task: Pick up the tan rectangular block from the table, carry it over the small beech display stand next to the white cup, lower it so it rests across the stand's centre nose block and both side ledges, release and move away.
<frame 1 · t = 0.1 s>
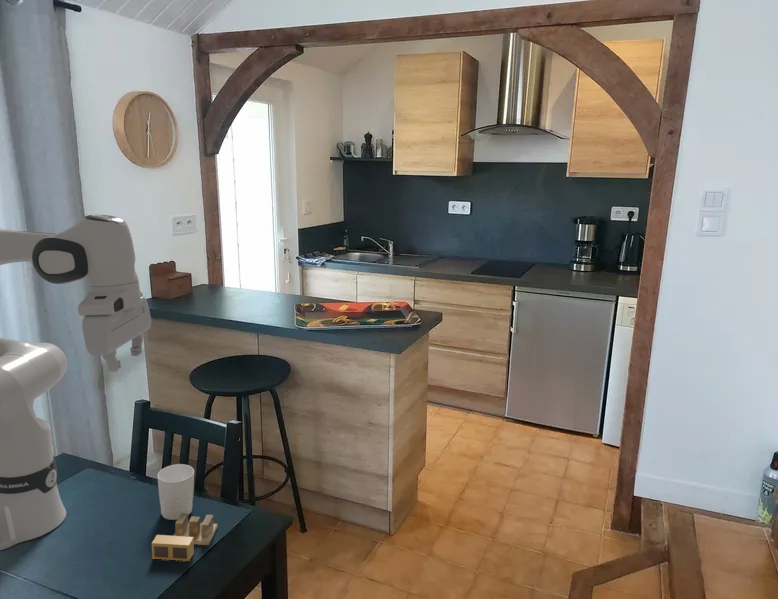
hand: (126, 362, 112), 39 cm above the table, tool pointing down, fingers open, 8 cm apart
display stand: (194, 535, 120), on the table
white cup: (177, 512, 128), on the table
tan rectangular block: (173, 556, 113), on the table
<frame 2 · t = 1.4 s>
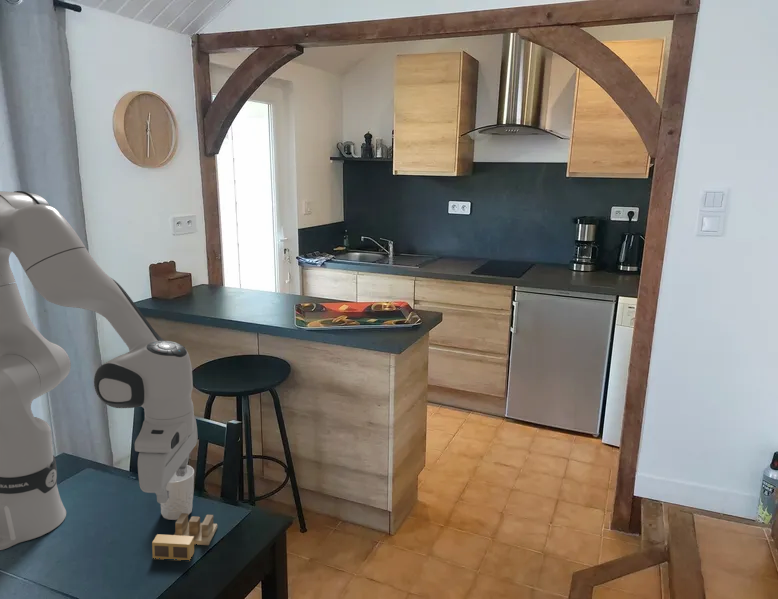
hand: (172, 487, 110), 16 cm above the table, tool pointing down, fingers open, 8 cm apart
nothing on the table moved.
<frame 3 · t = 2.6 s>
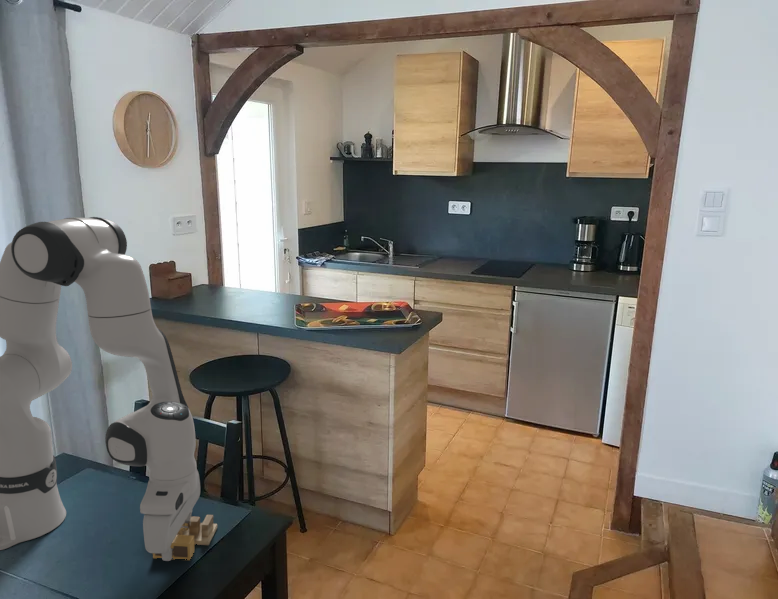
hand: (177, 542, 112), 3 cm above the table, tool pointing down, fingers open, 8 cm apart
nothing on the table moved.
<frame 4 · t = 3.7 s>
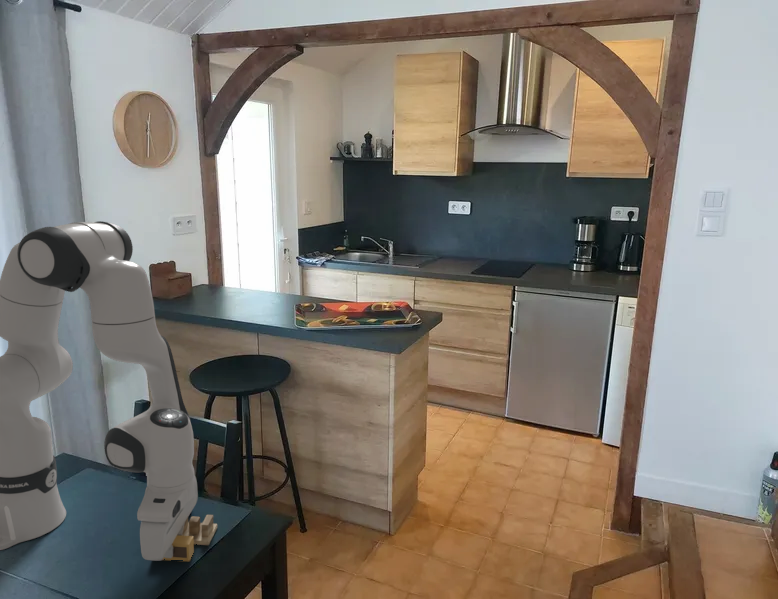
hand: (173, 548, 113), 2 cm above the table, tool pointing down, fingers closed on tan rectangular block, 3 cm apart
tan rectangular block: (173, 556, 113), on the table, touching gripper
everything else where it was.
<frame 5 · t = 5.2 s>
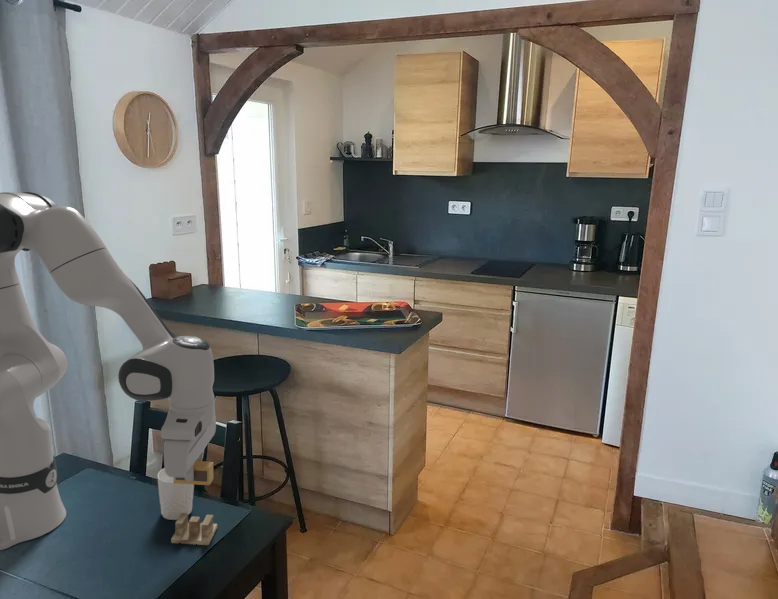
hand: (193, 473, 116), 15 cm above the table, tool pointing down, fingers closed on tan rectangular block, 3 cm apart
tan rectangular block: (193, 480, 117), point 13 cm above the table, touching gripper
everything else where it was.
when the fingers open (7 cm above the table, at t = 6.9 s): tan rectangular block stays where it is, resting on display stand.
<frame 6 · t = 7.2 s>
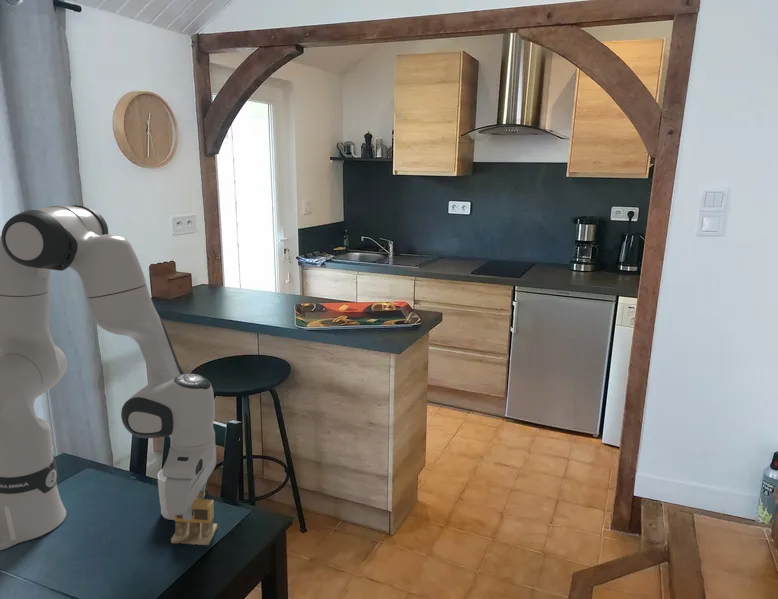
hand: (194, 508, 118), 7 cm above the table, tool pointing down, fingers open, 6 cm apart
tan rectangular block: (194, 518, 119), point 4 cm above the table, touching display stand
everything else where it was.
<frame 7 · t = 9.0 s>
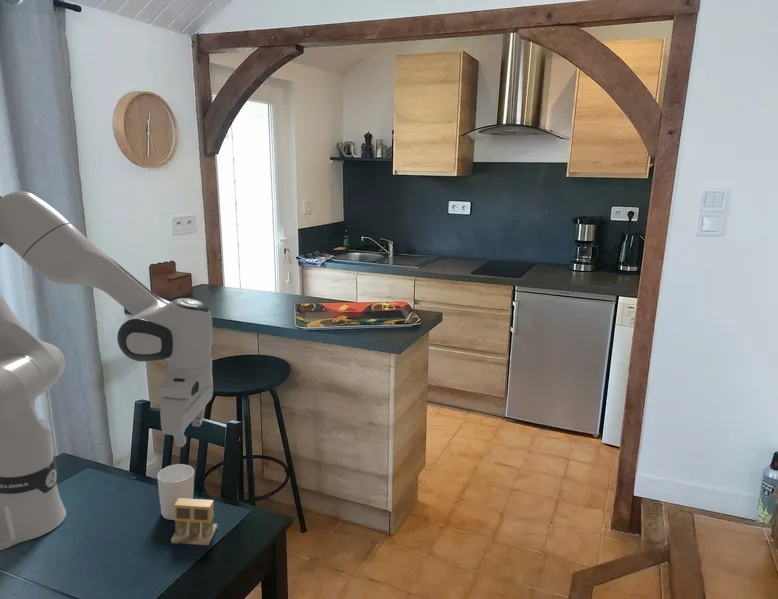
hand: (189, 434, 119), 22 cm above the table, tool pointing down, fingers open, 8 cm apart
nothing on the table moved.
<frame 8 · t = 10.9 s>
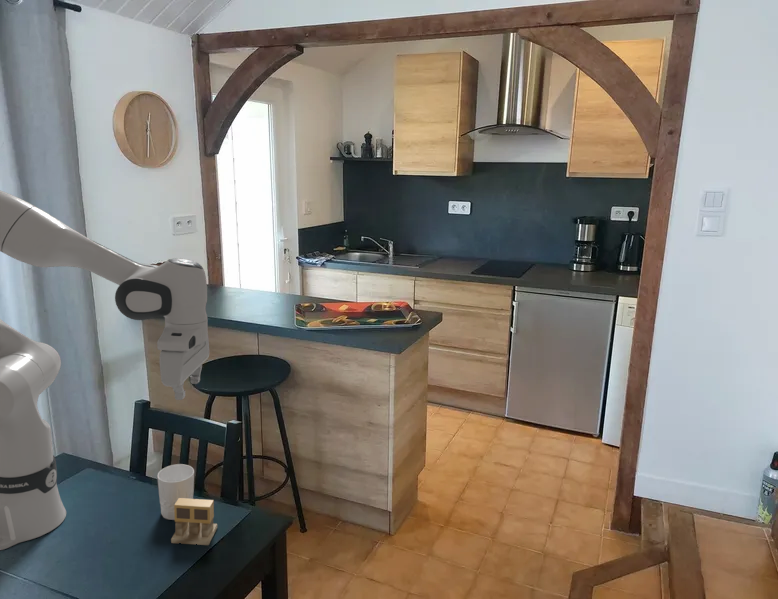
hand: (188, 390, 124), 29 cm above the table, tool pointing down, fingers open, 8 cm apart
nothing on the table moved.
at the end: tan rectangular block 0.1 cm off-centre on the display stand, point 4.0 cm above the display stand's base; tan rectangular block tilted 0°; the gripper is holding nothing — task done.
